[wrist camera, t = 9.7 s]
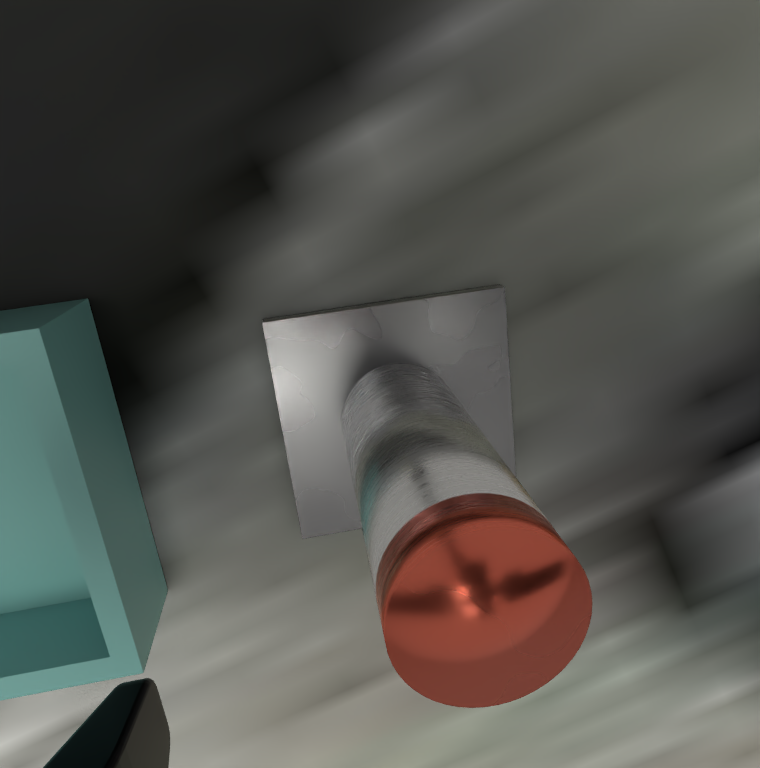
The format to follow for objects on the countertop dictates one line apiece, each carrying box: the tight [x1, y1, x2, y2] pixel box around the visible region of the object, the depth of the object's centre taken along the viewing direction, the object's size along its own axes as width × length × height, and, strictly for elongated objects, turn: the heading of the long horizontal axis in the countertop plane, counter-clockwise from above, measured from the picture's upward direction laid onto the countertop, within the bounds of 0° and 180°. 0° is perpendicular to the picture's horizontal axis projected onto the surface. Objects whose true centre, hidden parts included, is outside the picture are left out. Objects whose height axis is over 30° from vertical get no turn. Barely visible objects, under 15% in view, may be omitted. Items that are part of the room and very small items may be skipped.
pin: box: [341, 363, 592, 708], centre depth 13 cm, size 3×3×8 cm
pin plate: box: [262, 284, 516, 539], centre depth 17 cm, size 6×6×1 cm
